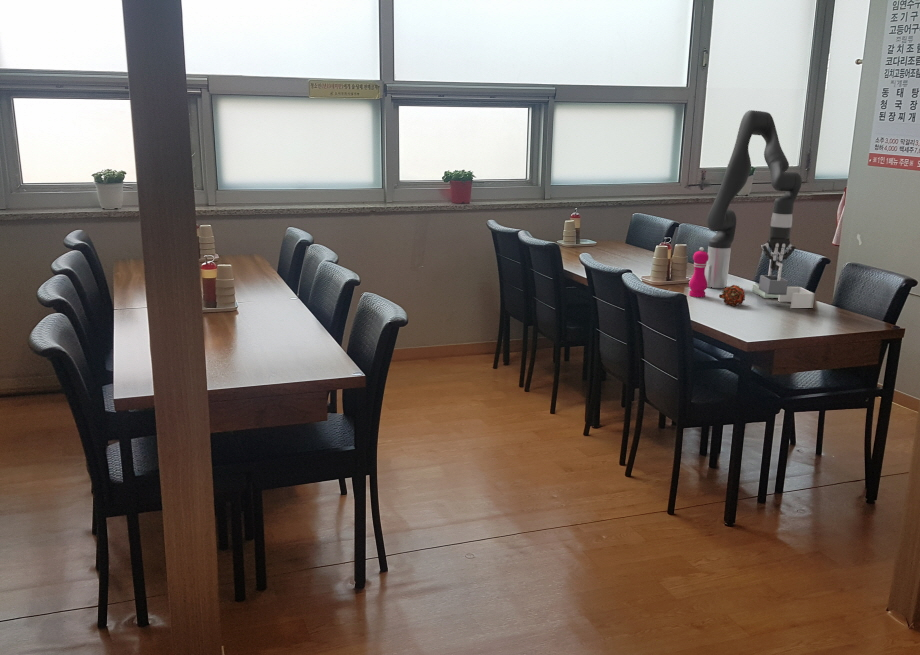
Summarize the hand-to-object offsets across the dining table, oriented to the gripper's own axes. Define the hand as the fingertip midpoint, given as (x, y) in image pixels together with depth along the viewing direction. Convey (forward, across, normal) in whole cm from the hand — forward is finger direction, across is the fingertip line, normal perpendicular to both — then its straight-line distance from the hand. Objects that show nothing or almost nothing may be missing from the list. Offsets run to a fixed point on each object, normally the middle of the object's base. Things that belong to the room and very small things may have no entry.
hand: (775, 269), depth 310 cm
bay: (+14, -9, 0) cm, 17 cm away
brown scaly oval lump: (+14, +16, +1) cm, 21 cm away
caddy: (+9, 0, 0) cm, 9 cm away
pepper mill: (+14, +25, -14) cm, 32 cm away
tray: (+14, -7, -18) cm, 24 cm away
